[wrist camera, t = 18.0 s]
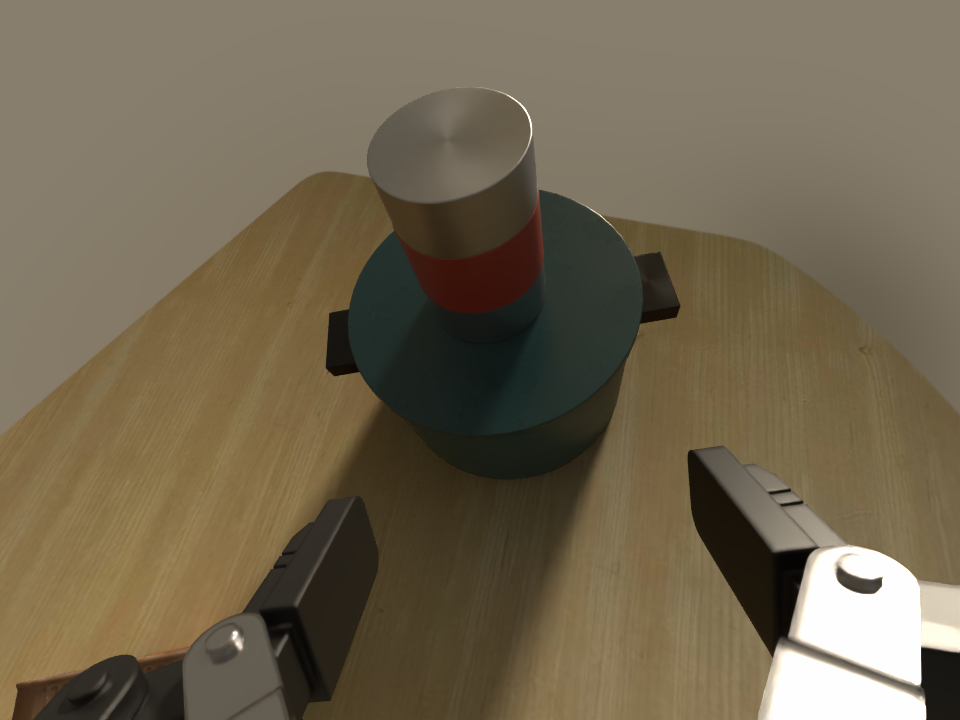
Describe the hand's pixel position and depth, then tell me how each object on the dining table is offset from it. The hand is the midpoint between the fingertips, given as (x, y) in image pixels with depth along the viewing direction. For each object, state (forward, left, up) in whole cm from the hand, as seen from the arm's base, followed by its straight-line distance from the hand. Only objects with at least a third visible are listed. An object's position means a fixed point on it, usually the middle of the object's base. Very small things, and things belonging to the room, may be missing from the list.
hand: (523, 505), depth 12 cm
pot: (+1, -14, -20) cm, 24 cm away
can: (+1, -14, -10) cm, 17 cm away
